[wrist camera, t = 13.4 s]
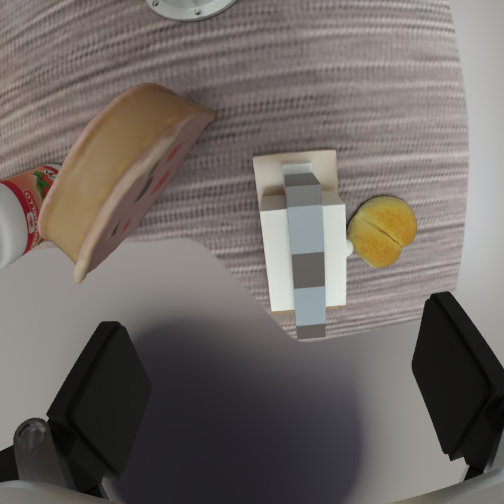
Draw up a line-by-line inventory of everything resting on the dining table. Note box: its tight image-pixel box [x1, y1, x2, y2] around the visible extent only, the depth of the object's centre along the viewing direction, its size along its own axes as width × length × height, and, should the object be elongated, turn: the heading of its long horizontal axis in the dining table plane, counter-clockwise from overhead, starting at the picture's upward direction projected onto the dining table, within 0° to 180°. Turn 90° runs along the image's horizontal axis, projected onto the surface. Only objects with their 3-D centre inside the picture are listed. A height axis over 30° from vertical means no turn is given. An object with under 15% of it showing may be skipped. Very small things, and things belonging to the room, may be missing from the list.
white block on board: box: [253, 148, 354, 315], centre depth 35 cm, size 20×10×8 cm, turn 7°
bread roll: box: [346, 196, 417, 268], centre depth 36 cm, size 8×9×4 cm
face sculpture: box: [38, 83, 216, 284], centre depth 29 cm, size 20×7×17 cm, turn 141°
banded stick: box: [283, 173, 326, 339], centre depth 33 cm, size 16×3×6 cm, turn 7°
